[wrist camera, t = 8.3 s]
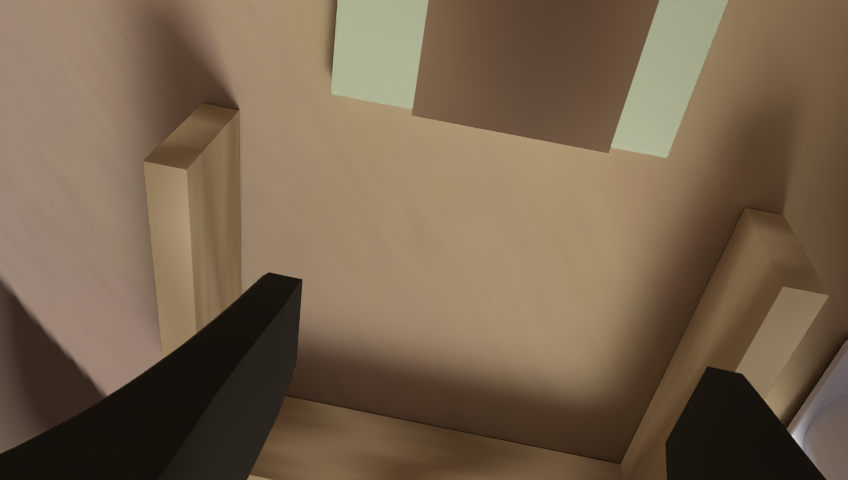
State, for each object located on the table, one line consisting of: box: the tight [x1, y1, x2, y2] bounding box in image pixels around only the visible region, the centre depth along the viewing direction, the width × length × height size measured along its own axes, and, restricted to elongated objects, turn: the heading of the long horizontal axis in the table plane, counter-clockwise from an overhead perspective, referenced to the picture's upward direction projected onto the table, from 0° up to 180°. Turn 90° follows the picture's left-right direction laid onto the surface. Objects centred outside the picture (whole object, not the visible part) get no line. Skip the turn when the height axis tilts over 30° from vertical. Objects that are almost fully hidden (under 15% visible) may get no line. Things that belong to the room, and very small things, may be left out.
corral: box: [143, 103, 829, 480], centre depth 24 cm, size 18×14×4 cm
